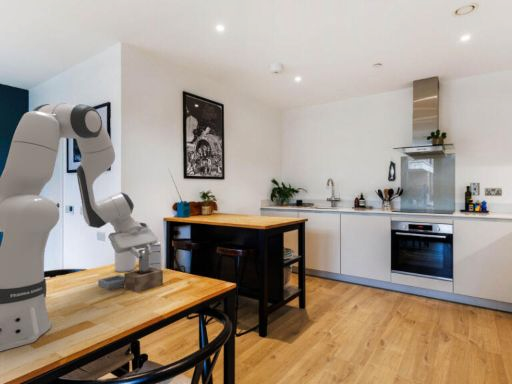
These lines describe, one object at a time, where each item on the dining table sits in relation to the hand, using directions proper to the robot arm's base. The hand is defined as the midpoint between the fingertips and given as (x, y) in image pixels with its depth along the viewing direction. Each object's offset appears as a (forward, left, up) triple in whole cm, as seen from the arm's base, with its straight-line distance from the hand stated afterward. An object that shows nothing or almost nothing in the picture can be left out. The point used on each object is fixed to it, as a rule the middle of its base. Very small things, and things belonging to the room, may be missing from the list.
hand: (144, 255), depth 124 cm
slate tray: (-7, +12, -13) cm, 19 cm away
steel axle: (0, +1, -13) cm, 13 cm away
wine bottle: (+9, +31, -13) cm, 34 cm away
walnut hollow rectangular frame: (0, +1, -13) cm, 13 cm away
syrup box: (+15, +15, -13) cm, 25 cm away
